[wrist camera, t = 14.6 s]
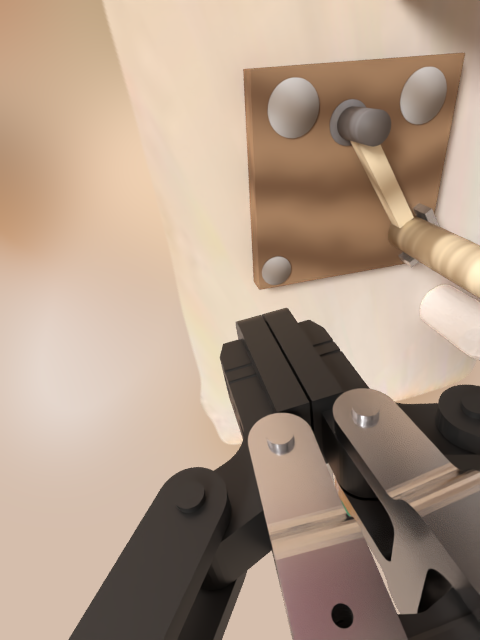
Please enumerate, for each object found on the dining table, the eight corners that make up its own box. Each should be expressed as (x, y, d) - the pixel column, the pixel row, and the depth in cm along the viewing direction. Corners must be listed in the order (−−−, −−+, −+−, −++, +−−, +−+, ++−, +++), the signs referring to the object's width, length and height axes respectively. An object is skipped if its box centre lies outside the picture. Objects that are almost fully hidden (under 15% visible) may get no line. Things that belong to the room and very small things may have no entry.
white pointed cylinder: (491, 351, 40) (542, 324, 40) (415, 296, 50) (456, 274, 50) (494, 390, 43) (541, 365, 43) (422, 331, 53) (461, 311, 53)
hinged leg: (327, 124, 34) (425, 146, 23) (361, 95, 34) (477, 104, 23) (395, 253, 43) (490, 313, 32) (423, 232, 42) (529, 285, 31)
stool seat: (243, 69, 33) (250, 68, 31) (449, 53, 36) (466, 52, 34) (253, 281, 43) (260, 290, 41) (414, 253, 46) (426, 260, 44)
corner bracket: (384, 230, 41) (396, 236, 40) (419, 203, 41) (432, 208, 39) (400, 260, 44) (411, 267, 42) (433, 234, 43) (446, 241, 42)
